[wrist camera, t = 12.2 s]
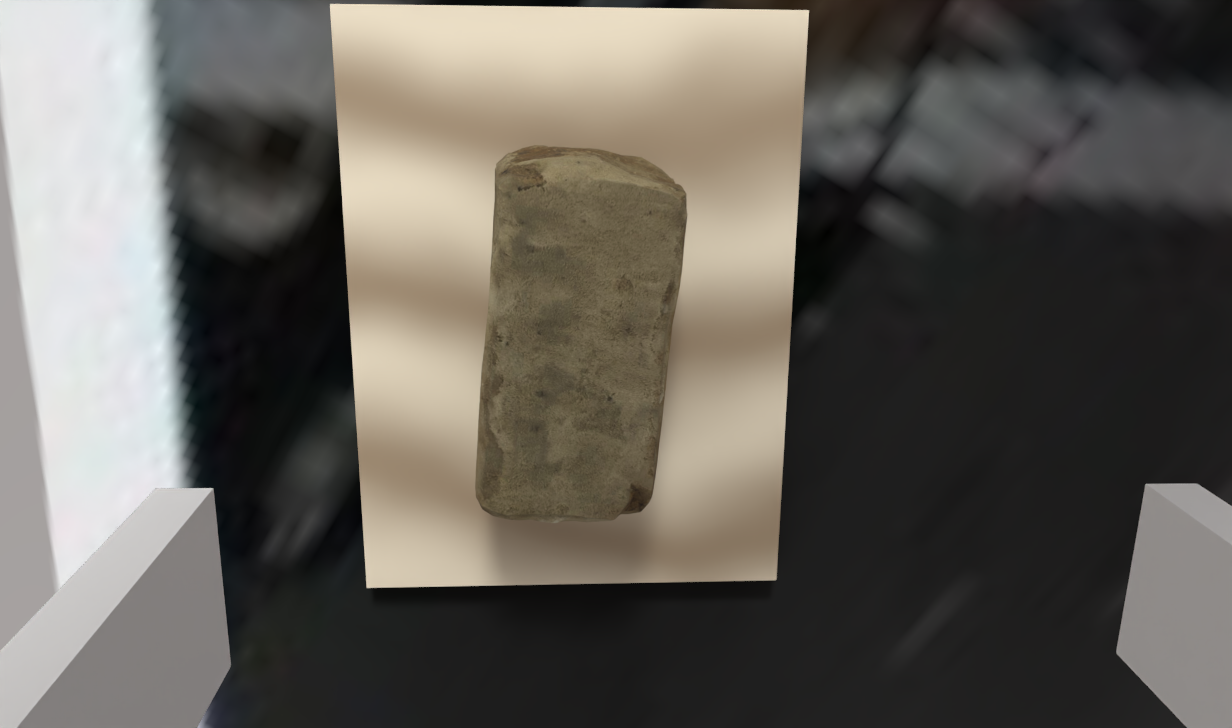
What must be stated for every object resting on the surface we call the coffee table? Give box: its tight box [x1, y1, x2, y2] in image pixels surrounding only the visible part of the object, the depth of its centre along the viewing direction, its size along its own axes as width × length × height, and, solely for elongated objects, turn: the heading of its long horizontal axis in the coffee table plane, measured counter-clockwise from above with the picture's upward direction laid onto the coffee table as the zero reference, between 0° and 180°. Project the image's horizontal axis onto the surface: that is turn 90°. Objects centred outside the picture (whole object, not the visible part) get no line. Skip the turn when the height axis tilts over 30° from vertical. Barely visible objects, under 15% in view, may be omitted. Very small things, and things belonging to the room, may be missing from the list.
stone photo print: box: [330, 4, 809, 588], centre depth 35 cm, size 20×15×1 cm
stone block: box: [475, 145, 688, 523], centre depth 32 cm, size 6×12×5 cm, turn 175°
